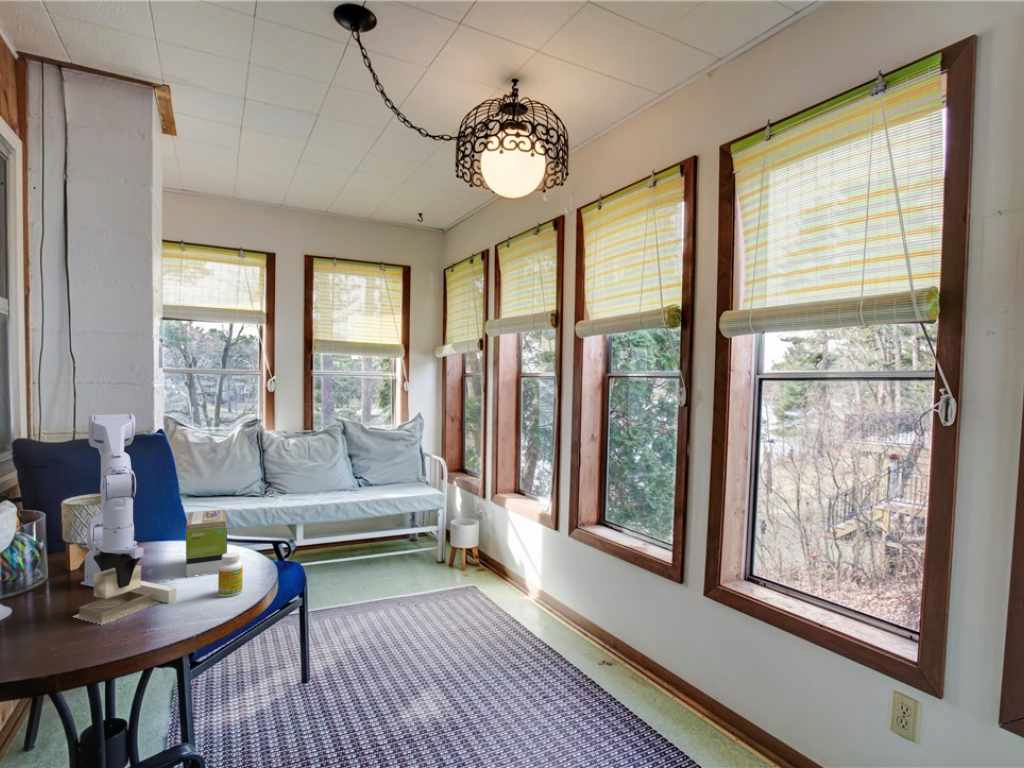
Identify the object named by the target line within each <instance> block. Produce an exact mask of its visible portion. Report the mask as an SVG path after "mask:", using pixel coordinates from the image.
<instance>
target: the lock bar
mask: <svg viewBox="0 0 1024 768" xmlns="http://www.w3.org/2000/svg"><path fill="white" fill-rule="evenodd" d="M141 581H142V565H140V564H137V565H136V566H135V569H134V571H133V574H132V577H131V581H130V584H129V586H126V587H123V588H119V587H118V584H117V574H116V570H115V568H112V569H109V570H106V571H102V572H99V573H95V574H94V587H93V597H96V598H101V599H104V598H105V599H106V598H109V597H112V596H115V595H118V594H121V593H124V592H127V591H130V590H133V589H136V588H138V587H141Z"/></svg>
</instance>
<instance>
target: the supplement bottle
mask: <svg viewBox="0 0 1024 768" xmlns="http://www.w3.org/2000/svg"><path fill="white" fill-rule="evenodd" d="M240 557H241V556H240V553H239V552H227V553H226V554H223V555H222V562H223V563H222V564H220V566H219V573H218V578H217V579H218V581H217V582H218V583H217V585H218V588H217V589H218V591H217V592H218V593H217V594H218V596H219V597H224V598H230V597H235V596H238V595H240V594H241V593H242V592H243V569H244V568H243V567H244V566H243V563H242V562H241V561H240Z"/></svg>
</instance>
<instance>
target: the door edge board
mask: <svg viewBox="0 0 1024 768" xmlns="http://www.w3.org/2000/svg"><path fill="white" fill-rule="evenodd" d="M133 590H135V591H140V592H145V593H149V594H153V601H156V600H157V601H156V602H160V601H162V602H161V603H165V602H167V603H166V604H171V603H173V602H172V601H174V602H176V601H177V587H174V586H168V585H164V584H158V583H153V582H148V581H144V580H141V587H138V588H136V589H133ZM175 600H176V601H175ZM170 602H171V603H170Z"/></svg>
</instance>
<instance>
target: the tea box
mask: <svg viewBox="0 0 1024 768" xmlns="http://www.w3.org/2000/svg"><path fill="white" fill-rule="evenodd" d="M186 521H187V522H186V525H185V573H186V574H185V576H193V577H196V576H195V575H201V576H203V575H202V574H209V575H211V574H210V573H216V574H219V573H218V572H219V566H220V564H222V563H223V562H222V555H223V554H226V553H228V526H227V525H228V524H227V510H226V509H225V508H224V509H215V510H205V511H195V512H189V513H188V518H187V520H186Z"/></svg>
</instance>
